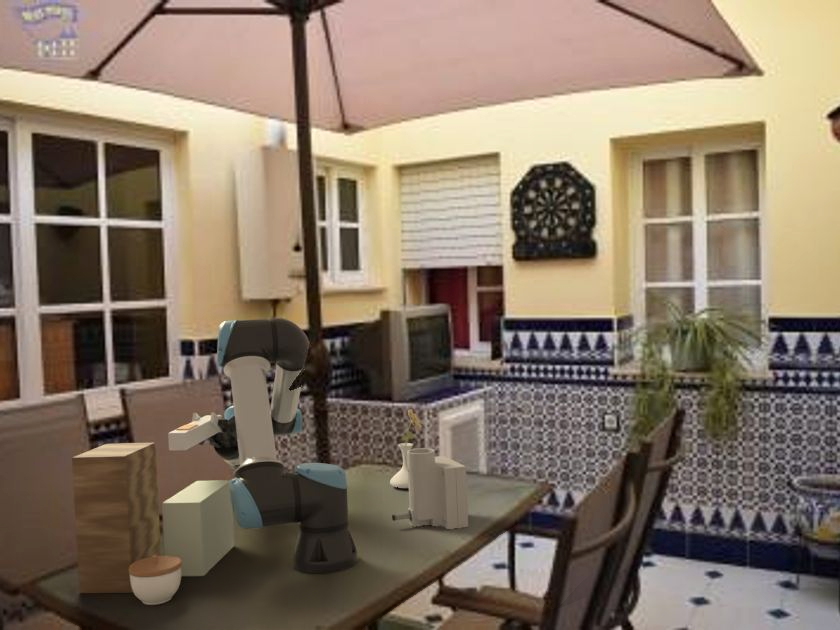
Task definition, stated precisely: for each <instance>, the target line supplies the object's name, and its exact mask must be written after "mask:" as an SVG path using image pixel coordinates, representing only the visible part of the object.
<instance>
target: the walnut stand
mask: <svg viewBox="0 0 840 630" xmlns="http://www.w3.org/2000/svg"><path fill="white" fill-rule="evenodd" d="M156 451H157V450H156V442H130V443H129V442H125V443H119V442H118V443H105V444H103V445H100V446H98V447H96V448H92V449H90V450H88V451H85V452H83V453H80V454H78V455H77V454H76V455H75V456H73V457H71V462H72V463H71V465H72V485H73V498H74V499H73V502H74V516H75V534H76V536H75V537H76V538H75V539H76V552H77V553H76V555H77V556H76V557H77V569H78V570H77V571H78V572H77V573H78V574H77V575H78V590H79V591H78V592H79V594H110V593H111V594H112V593H113V594H114V593H116V594H119V593H120V594H123V593H125V594H126V593H128V594H129V593H130V594H132V593H134V592H133V590H132V587H131V583H130V573H129V566H130V565H131V564H132V563H134V562H136V561H138V560H141V559H144V558H149V557H152V556H154V555H157V556H162V547H161V530H160V527H161V526H160V511H159V510H160V508H159V492H158V491H159V490H158V471H157V452H156Z"/></svg>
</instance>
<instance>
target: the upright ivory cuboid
mask: <svg viewBox="0 0 840 630" xmlns="http://www.w3.org/2000/svg"><path fill="white" fill-rule="evenodd" d="M230 480H231V479H225V480H224V479H223V480H222V479H219V480H216V479H215V480H196V481H194V482H193V483H191V484H189V485H188V486H186V487H184V489H182V490H181V491H178V492H177V493H176V494H174V495H173V496H171V497H170V498H168V499H166V500H164V501H163V502H162V503H161V509H162V512H161V513H162V525H163V526H162V529H163V531H162V532H163V543H164V544H163V546H164V556H176V557H179V558H180V559H181V562H182V565H181V577H204V576H205V575H207V574H208V573H209V571H210V570H211V569H212V568H214V566H216V565H217V563H218V562H219V561H220V560H222V559H223V558H224V556H226V554H228V553H229V552H230V551H231V550H233V548H234V547H235V537H234V536H235V535H234V534H235V533H234V516H233V515H234V512H233V508H232V503H231V496H230V491H229V482H230Z"/></svg>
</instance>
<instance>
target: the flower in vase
mask: <svg viewBox="0 0 840 630" xmlns="http://www.w3.org/2000/svg"><path fill="white" fill-rule="evenodd" d="M407 415H408V416H409V419H410V423H409V424H408V425H409V426H408V427H407V431H406V434H403V435H402V437H401V440H402V441H405V442H402V443H399V444H397V446H398V447H399V450H400V451H401V455H402V467H401V469H400V470H398V471H397V473H395V475H393V476H392V477H391V479H390V482H389V484H390V485H391V486H393V487H395V488H397V487H398V489H409V485H408V464H407V451H408V450H412V449H413V446H414V443H409V442H407V441H408V440H409V439H411V440H412V439H414V434H413V433H412V431H409V430H410V427H411V425H413V426H414V428H415V429H416V430H417V431H422V429H421V428H423V426H422V424H421V420H420V419H419V418H418V416H417V413H414V411H413V409H410V408H408V410H407Z"/></svg>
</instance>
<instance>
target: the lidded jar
mask: <svg viewBox="0 0 840 630" xmlns="http://www.w3.org/2000/svg"><path fill="white" fill-rule="evenodd" d="M181 565H182V562H181V559H180V558H179V557H176V556H165V555H161V556H157V555H154V556H152V557H149V558H144V559H141V560H138V561H136V562H134V563H132V564H131V565H130V566H129V573H130V583H131V587H132V590H133V592H132V593H133V594H134V596H135V597H136V598H138V600H140V601H141V603H142V604H143V605H147V606H154V605H155V606H156V605H160V604H164V603H167V602H169V601H171V600H172V599H173V596H174V595H175V594H176V592H177V591H178V590H179V588H180V585H181V580H182V576H181Z"/></svg>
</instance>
